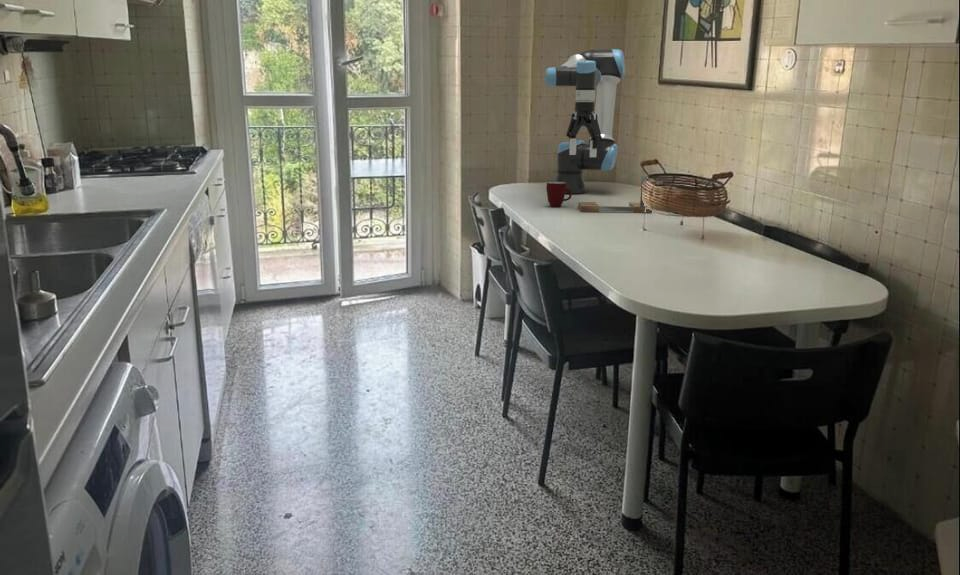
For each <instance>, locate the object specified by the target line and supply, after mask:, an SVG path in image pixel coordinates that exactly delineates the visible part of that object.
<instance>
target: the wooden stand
mask: <svg viewBox="0 0 960 575" xmlns="http://www.w3.org/2000/svg"><path fill="white" fill-rule="evenodd" d="M647 177H648V178H649V176H648V175H642V176H641V188H640V201H639V202H629V204H628V205H629V206H623V205H622V206H621V205H620V206H617V205H616V206H615V205H614V206H612V205H611V206H607V205H605V206H604V205H599V204H598V203H597V202H596V201H578V202H577V204H578V205H577V208H578V210H579V211H580V213H599V212H615V213H616V212H618V213H619V212H621V213H622V212H628V213H629V212H630V213H634V214H653V209H652V210H650V209H646V213H644V211H645V206H644V203H643V201H642V184H643V182H644V181H646V179H647Z"/></svg>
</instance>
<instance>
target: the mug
mask: <svg viewBox="0 0 960 575" xmlns="http://www.w3.org/2000/svg"><path fill="white" fill-rule="evenodd" d="M545 188H546V195H547V201H548V204H549V206H550V207H552V208H560V207H561V206H562V205H563V203H564V202H565V201H566V202H567V201H569V200H571V198H572V195H573V194H572V193H571V191H570V190H569V189H566V183H565V182H555V181H547V182H546V187H545ZM566 191H568V192H569V194H568V197H567V198H565V195H566V193H565V192H566Z"/></svg>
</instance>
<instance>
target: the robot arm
mask: <svg viewBox="0 0 960 575" xmlns="http://www.w3.org/2000/svg"><path fill="white" fill-rule="evenodd" d="M625 74H626V64H625V55H624V52H623V50H621V49H617V48H615V49H614V48H610V49H587V50H583V51H579V52H577V53H575V54H573V55H571V56H569V58H567V60H566V62H565V63H563V64H561V65H560V66H558V67H555V66H553V67H548V68H547V69H546V71H545V76H544V78H545V83H546V85H547V87H553V88H554V87H575V101H576V102H575V103H574V112H576V113H572V114H571V117H570V122H569V125H568V129H567V132H566V135H565V136H566V137H568V139H569V141H565V142H564V141H563V142H560V143H559V144H558V146H557V163H556V164H557V168H556V171H557V172H556V177H555V180H554V182H565V183H566V189H569V190H570V191H571V193H572V195H574V194H585V193H586V191H587V188H586V184H585V180H584V177H583V173H584V172H583V170H589V171H590V170H591V171H603V172H604V171H610V170H612V169H613V168H614V167H615V165H616V162H617V158H618V153H619V152H618V150H619V146H618V144H616V141H615V139H614V138H613V128H614V118H615V106H616V96H617V84H619V83H620V82H621V78H623V77H625ZM596 86H597V87H596ZM594 101H595V103H594ZM593 112H594V114H593ZM583 126H584V127H585V128H586V130H587V132H588V134H589V136H590V138H589V139H588V143H585V141H584V139H583V140H577V135H578V133H579V131H580V130H581V128H582V127H583ZM565 194H568V195H569V192H568V191H566V192H565Z"/></svg>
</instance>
